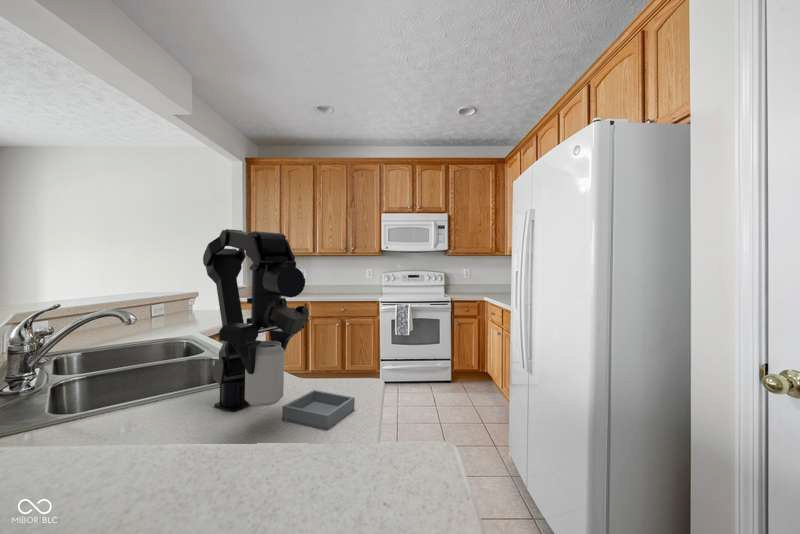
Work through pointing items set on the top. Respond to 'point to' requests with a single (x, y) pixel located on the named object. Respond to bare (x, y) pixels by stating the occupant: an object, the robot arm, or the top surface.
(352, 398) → the bin
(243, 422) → the top surface
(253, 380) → the can
